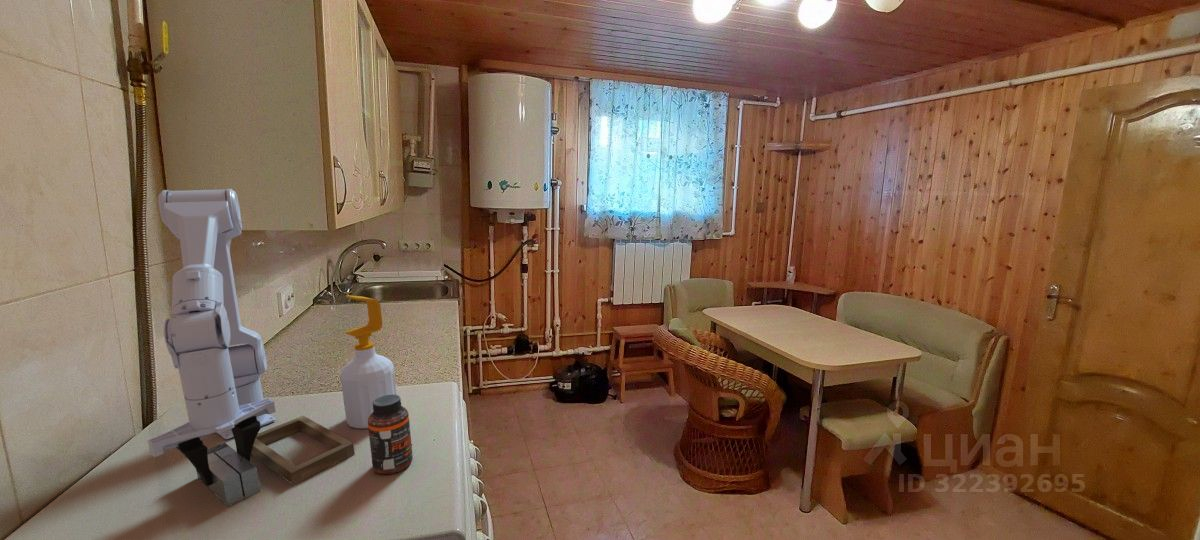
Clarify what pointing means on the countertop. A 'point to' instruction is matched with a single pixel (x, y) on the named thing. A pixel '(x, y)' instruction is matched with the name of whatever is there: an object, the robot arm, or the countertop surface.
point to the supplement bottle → (389, 435)
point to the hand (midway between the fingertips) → (226, 474)
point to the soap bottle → (366, 370)
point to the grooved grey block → (231, 474)
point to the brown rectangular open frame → (306, 469)
